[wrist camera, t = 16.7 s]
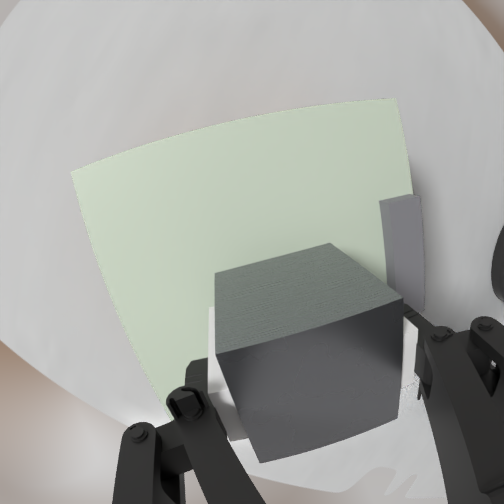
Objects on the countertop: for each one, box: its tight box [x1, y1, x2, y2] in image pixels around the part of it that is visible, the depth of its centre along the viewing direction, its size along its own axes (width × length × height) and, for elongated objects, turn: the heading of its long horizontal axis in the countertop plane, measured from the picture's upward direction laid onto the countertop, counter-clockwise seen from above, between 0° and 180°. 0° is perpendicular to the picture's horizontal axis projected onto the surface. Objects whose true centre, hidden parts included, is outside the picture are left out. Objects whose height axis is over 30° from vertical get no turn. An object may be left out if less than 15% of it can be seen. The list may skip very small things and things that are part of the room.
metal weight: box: [214, 243, 404, 463], centre depth 13 cm, size 6×6×7 cm
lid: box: [71, 98, 425, 421], centre depth 19 cm, size 20×20×3 cm
